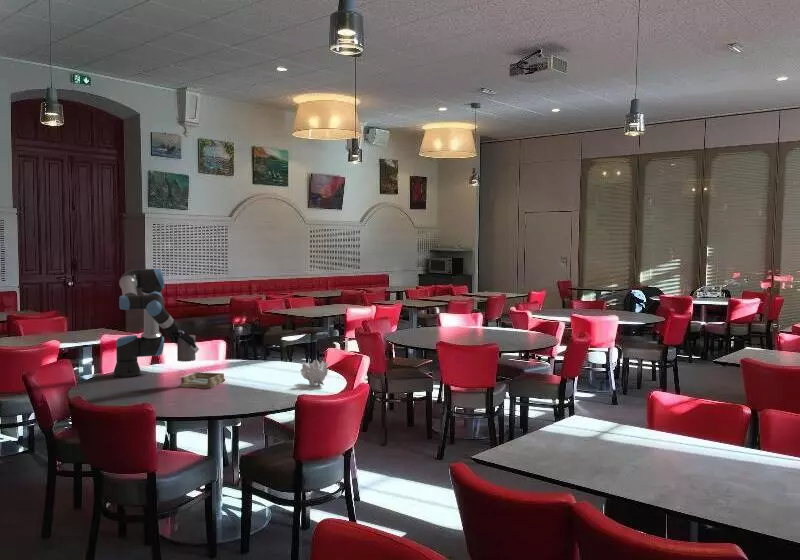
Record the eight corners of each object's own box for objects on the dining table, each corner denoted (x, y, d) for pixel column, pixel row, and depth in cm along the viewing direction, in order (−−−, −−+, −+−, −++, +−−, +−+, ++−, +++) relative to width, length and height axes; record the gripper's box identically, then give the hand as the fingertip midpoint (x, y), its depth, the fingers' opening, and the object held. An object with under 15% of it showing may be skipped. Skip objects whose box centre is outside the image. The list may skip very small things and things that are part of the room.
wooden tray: (195, 380, 383) (195, 372, 383) (225, 381, 380) (225, 373, 380) (180, 387, 365) (180, 378, 365) (211, 388, 362) (211, 379, 362)
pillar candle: (178, 359, 373) (178, 332, 373) (196, 358, 375) (196, 332, 375) (176, 362, 364) (176, 334, 363) (194, 361, 366) (194, 334, 365)
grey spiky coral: (338, 362, 373) (318, 348, 367) (327, 389, 364) (306, 375, 357) (318, 367, 388) (298, 354, 381) (306, 393, 378) (286, 380, 372)
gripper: (150, 328, 362) (173, 353, 376) (178, 330, 350) (201, 357, 364) (158, 317, 366) (181, 343, 380) (186, 319, 354) (208, 346, 368)
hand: (191, 350), depth 372 cm, fingers closed on pillar candle, 9 cm apart
